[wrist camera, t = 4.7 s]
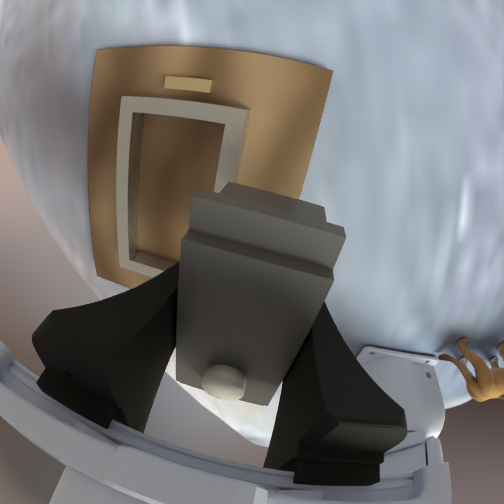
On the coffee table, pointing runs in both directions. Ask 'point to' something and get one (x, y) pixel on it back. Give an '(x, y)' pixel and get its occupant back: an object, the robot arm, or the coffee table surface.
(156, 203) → the pocket plate
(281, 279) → the servo block
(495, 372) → the lion figurine
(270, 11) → the coffee table surface
